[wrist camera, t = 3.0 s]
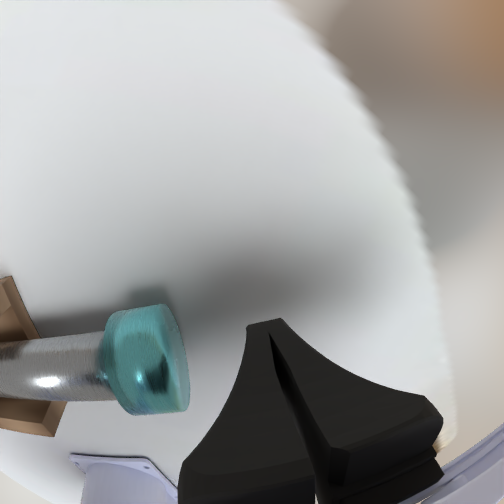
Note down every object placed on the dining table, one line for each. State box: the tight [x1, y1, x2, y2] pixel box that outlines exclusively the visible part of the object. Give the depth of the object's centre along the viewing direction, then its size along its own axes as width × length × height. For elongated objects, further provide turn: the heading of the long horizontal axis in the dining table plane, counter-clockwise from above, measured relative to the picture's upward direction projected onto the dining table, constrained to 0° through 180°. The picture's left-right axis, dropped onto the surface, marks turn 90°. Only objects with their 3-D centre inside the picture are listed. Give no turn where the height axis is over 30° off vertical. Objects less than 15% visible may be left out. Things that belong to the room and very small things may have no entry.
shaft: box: [0, 304, 190, 416], centre depth 10 cm, size 14×4×4 cm, turn 99°
